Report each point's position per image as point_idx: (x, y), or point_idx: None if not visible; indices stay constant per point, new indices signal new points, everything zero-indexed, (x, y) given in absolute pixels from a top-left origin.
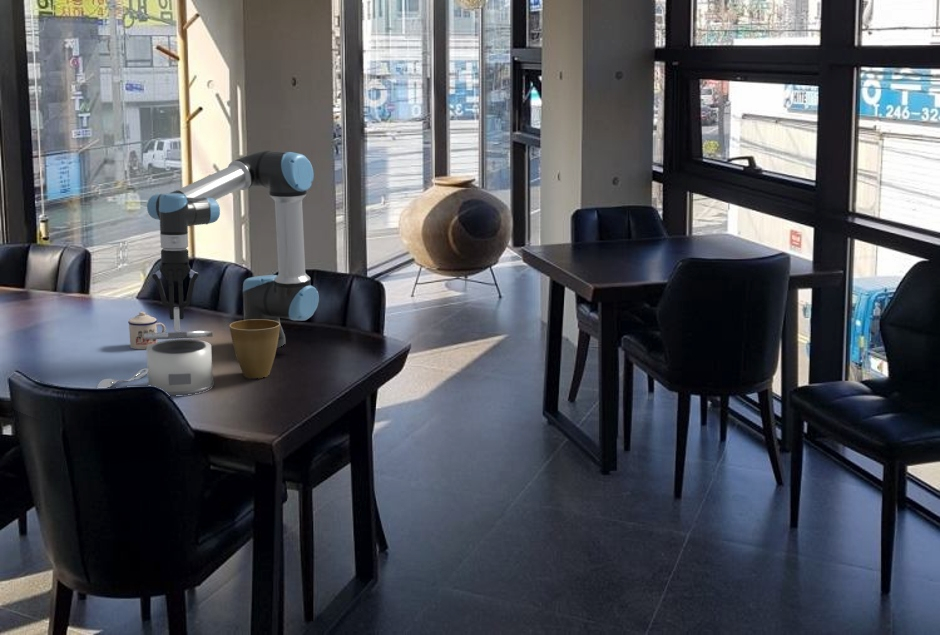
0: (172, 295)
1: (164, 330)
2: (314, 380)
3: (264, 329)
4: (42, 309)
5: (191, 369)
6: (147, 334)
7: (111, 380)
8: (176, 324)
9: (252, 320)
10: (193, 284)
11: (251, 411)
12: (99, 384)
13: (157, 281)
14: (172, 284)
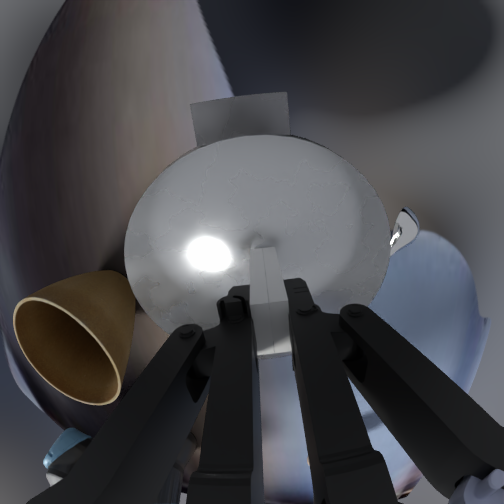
0: (311, 372)
1: (308, 458)
2: (29, 253)
3: (20, 301)
4: (405, 476)
5: None
6: (382, 205)
7: (403, 227)
8: (266, 259)
9: (91, 401)
10: (88, 454)
11: (96, 59)
12: (418, 223)
13: (493, 437)
14: (331, 466)
